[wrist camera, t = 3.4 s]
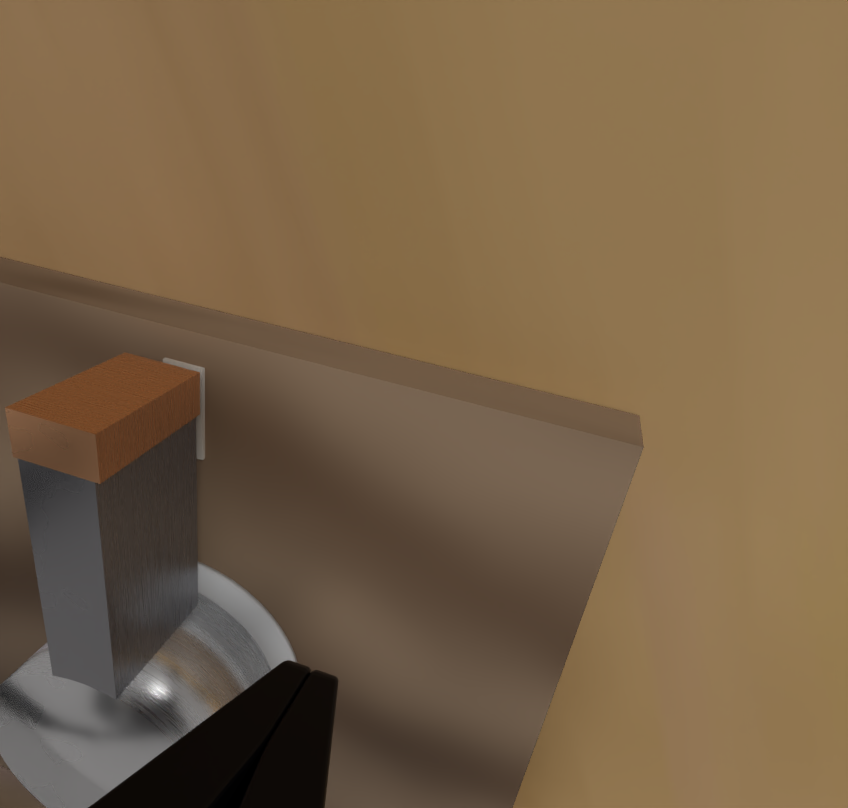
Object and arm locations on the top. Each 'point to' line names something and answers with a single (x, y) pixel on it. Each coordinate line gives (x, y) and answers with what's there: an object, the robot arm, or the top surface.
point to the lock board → (355, 525)
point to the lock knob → (115, 583)
